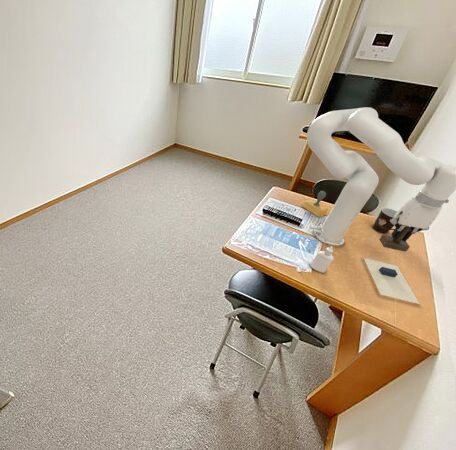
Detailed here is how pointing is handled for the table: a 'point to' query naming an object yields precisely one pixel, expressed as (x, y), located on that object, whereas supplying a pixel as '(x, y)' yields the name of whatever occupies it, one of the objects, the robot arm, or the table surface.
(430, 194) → the robot arm
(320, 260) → the eye dropper bottle
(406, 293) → the tile
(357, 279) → the table surface
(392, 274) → the eraser
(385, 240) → the handled square plate
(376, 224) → the coffee mug
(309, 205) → the rubber stamp
